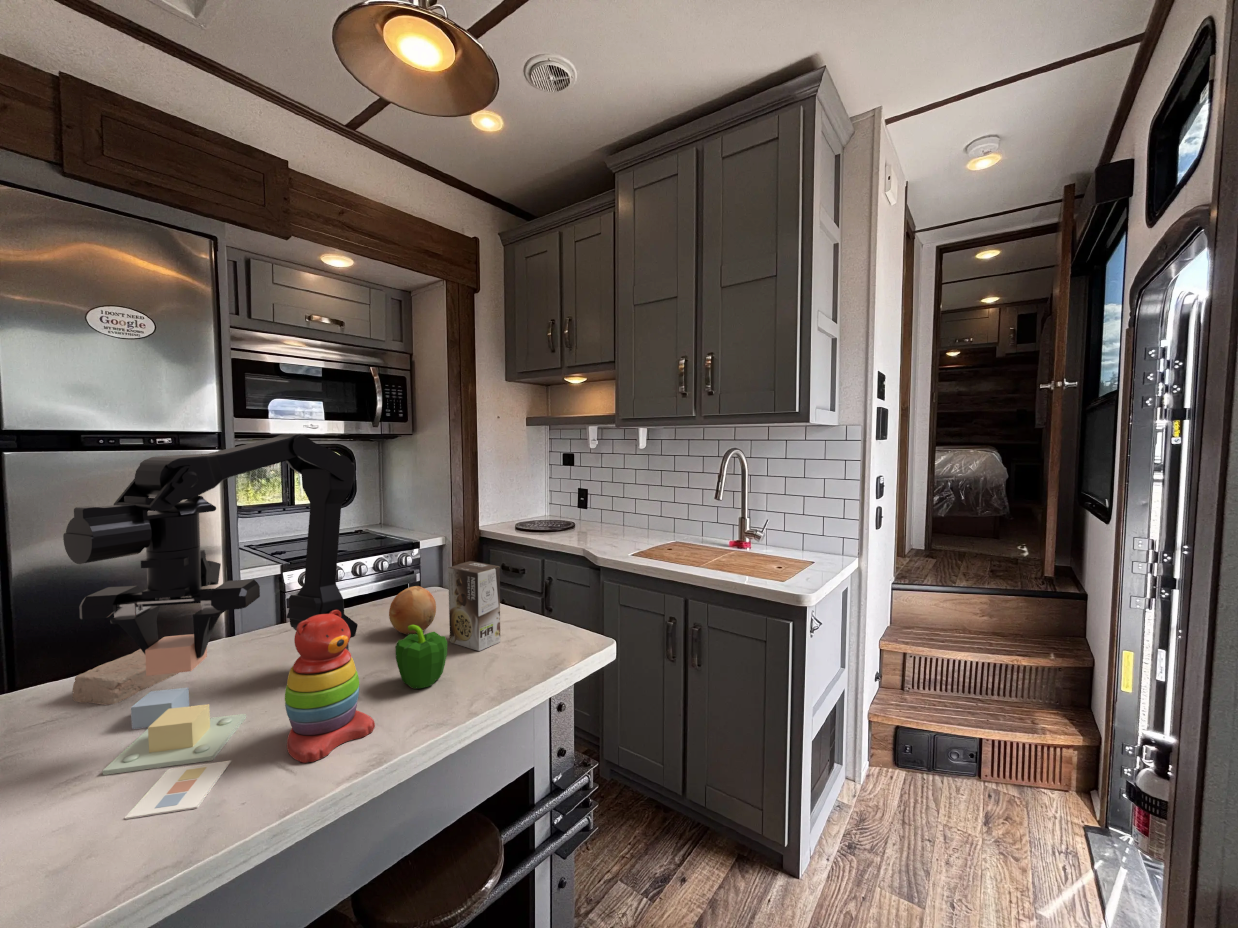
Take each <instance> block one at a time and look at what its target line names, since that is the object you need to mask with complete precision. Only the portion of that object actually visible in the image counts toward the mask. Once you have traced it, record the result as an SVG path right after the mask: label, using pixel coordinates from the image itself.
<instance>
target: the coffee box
mask: <svg viewBox="0 0 1238 928" xmlns="http://www.w3.org/2000/svg"><path fill="white" fill-rule="evenodd" d="M500 569H501V566H499V565H494V564H489V563H484V562H479V561H478V562H477V561H473V560H469V561H465V562H461V563H459V564H456V565H452V566H449V567H448V568H447V576H448V577H447V582H448V615H449V616H448V619H449V621H448V622H449V623H448V625H449V643H451V644H454V645H457V646H461V647H464V648H468V649H472V650H475V651H477V652H481V651H483V650H484V649H485V650H486V649H488V648H489V647H492V646H494V645H496V644H499V643H501V578H500V577H501V572H500Z"/></svg>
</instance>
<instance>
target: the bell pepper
mask: <svg viewBox="0 0 1238 928" xmlns="http://www.w3.org/2000/svg"><path fill="white" fill-rule="evenodd" d="M408 629H409V630H410V631H412V630H414V631H416V632H417V633H415V634H407V635H406V637H404V638H402V639H398V640H397V642H396V644H395V647H394V648H395V660H396V664H397V667H398V668H397V669H398V672H399V675H400V678H401V680H402V682H403V683H404V684H405V685H407V686H408V687H410V688H411V689H424V688H428V687H431V686H432V685H433V684H435V683H436V681H437V680H439V679H440V678H441V676H442V675H443V673H444V670H445V665H446V660H447V656H448V640H447V639H446V636H444V635H440V634H439V633H437V631H431V632H427V633H425V634H424V630H423V631H422V629H421V628H420V627H419V626H417V625H410V626H408Z"/></svg>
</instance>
